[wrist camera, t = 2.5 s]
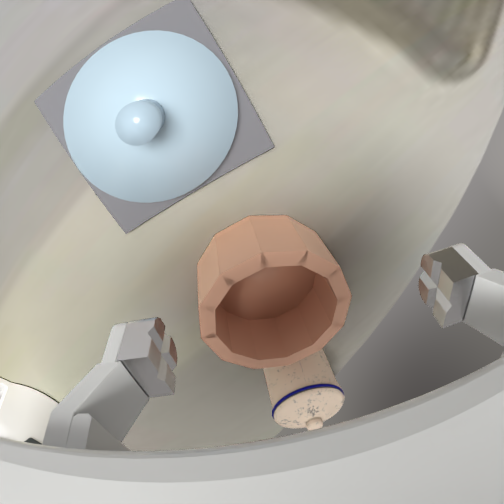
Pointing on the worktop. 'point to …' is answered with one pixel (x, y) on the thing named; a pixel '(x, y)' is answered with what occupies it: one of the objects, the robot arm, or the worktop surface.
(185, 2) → the mat
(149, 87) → the lid
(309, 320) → the bowl
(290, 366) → the teacup with lid
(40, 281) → the worktop surface
